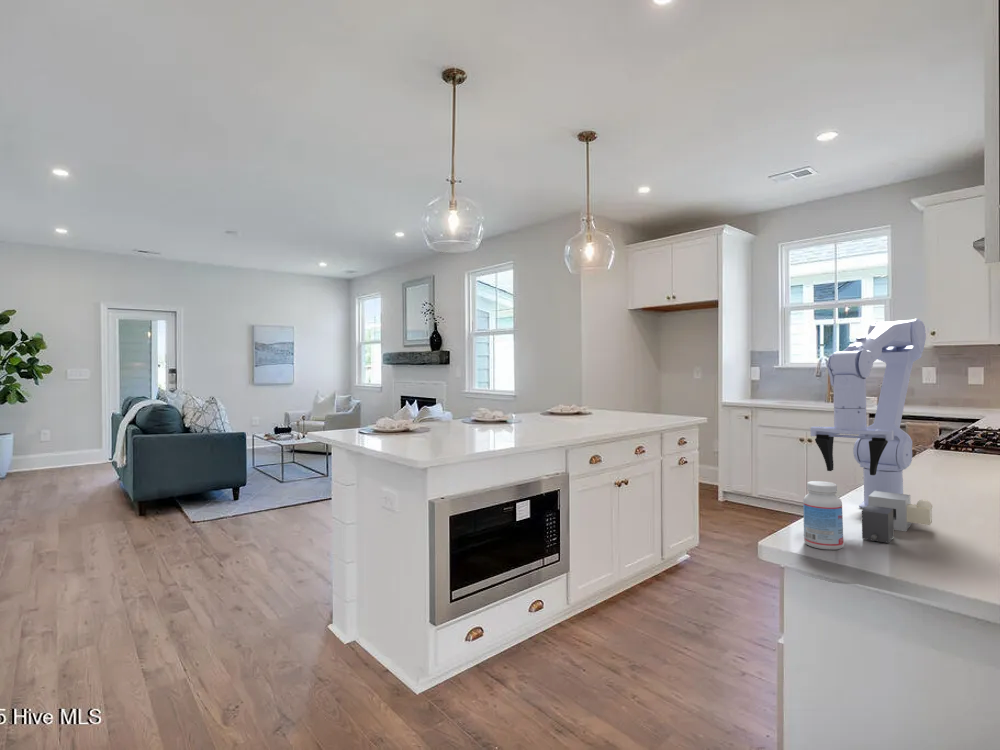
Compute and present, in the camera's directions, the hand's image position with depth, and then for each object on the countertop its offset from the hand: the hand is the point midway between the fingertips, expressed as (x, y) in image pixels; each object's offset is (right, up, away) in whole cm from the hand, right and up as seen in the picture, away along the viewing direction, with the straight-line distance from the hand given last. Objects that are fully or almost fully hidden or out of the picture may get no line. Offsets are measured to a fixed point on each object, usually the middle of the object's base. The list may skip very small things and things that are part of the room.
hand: (851, 472), depth 112 cm
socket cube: (+5, -10, -5) cm, 12 cm away
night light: (+8, -8, -8) cm, 14 cm away
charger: (-4, -10, -13) cm, 17 cm away
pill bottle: (-15, -11, -16) cm, 24 cm away
